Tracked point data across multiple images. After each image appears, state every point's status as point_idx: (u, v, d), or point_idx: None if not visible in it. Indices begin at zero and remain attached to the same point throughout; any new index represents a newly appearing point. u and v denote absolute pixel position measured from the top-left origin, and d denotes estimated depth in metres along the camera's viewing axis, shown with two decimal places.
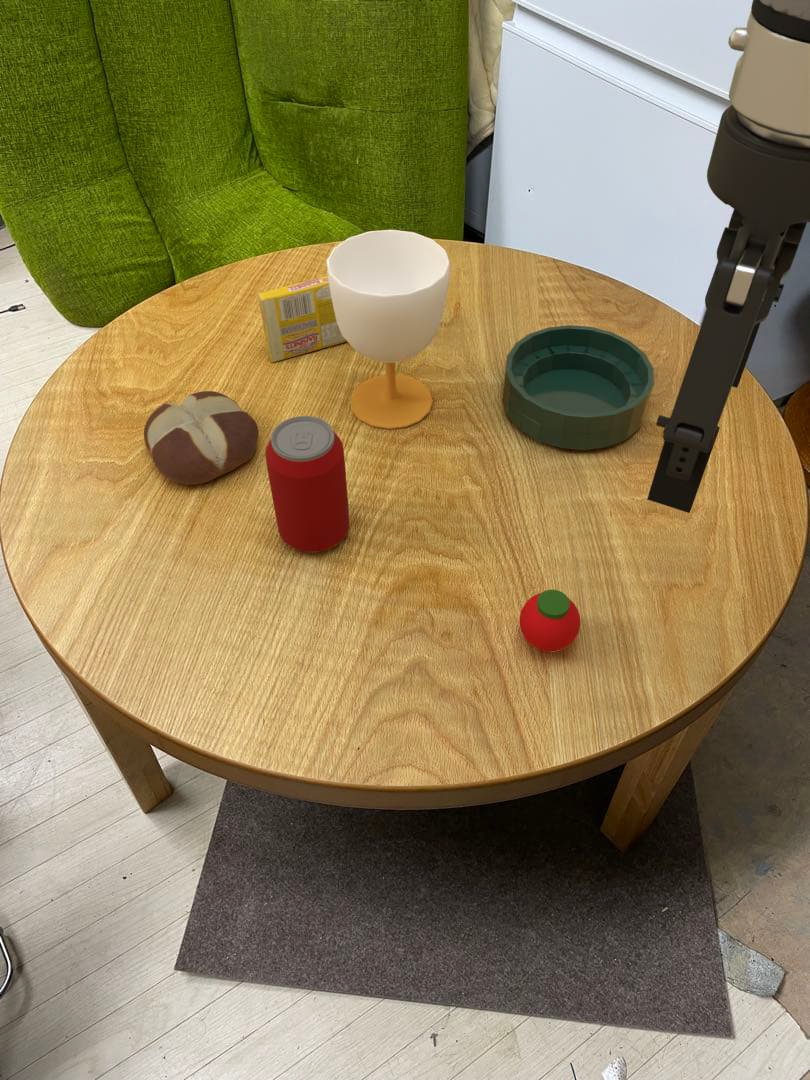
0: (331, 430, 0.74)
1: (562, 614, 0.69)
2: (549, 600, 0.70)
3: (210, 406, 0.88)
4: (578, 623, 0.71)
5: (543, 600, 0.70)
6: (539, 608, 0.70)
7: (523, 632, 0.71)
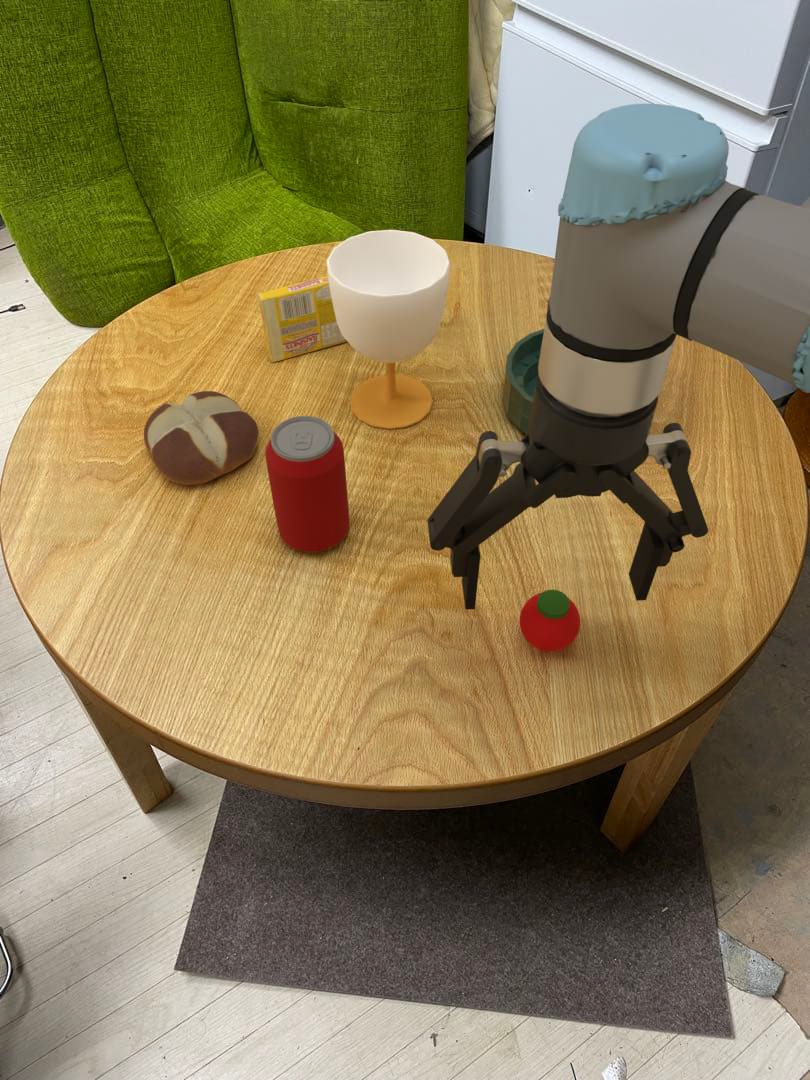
0: (331, 430, 0.74)
1: (562, 614, 0.69)
2: (549, 600, 0.70)
3: (210, 406, 0.88)
4: (578, 623, 0.71)
5: (543, 600, 0.70)
6: (539, 608, 0.70)
7: (523, 632, 0.71)
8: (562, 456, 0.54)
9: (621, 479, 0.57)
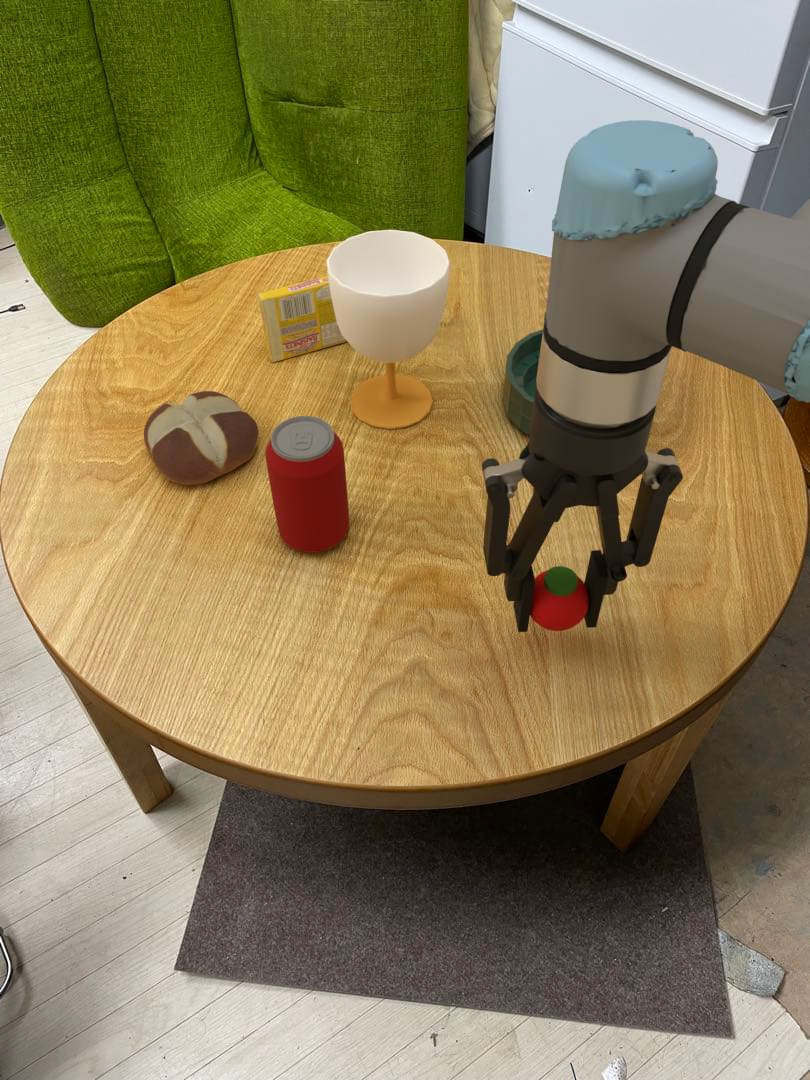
0: (331, 430, 0.74)
1: (570, 591, 0.67)
2: (556, 577, 0.68)
3: (210, 406, 0.88)
4: (587, 601, 0.68)
5: (550, 577, 0.68)
6: (546, 584, 0.67)
7: None
8: (561, 467, 0.54)
9: (615, 493, 0.58)
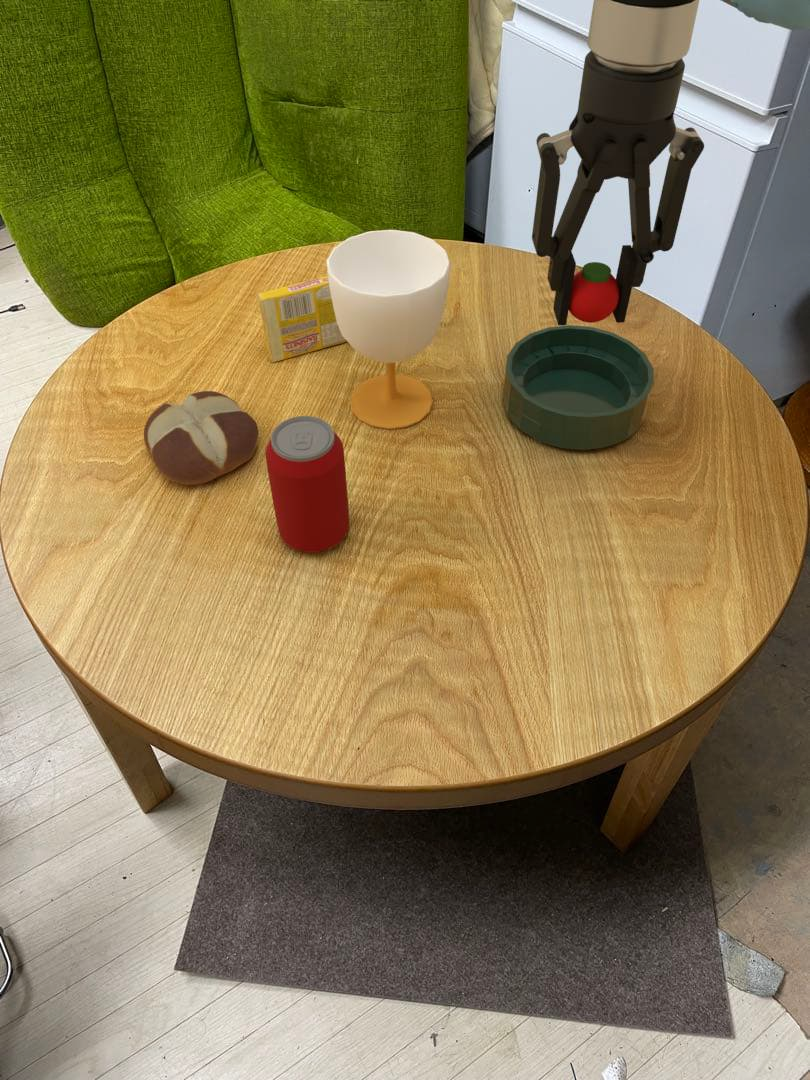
0: (331, 430, 0.74)
1: (604, 277, 0.79)
2: (593, 268, 0.79)
3: (210, 406, 0.88)
4: (618, 291, 0.80)
5: (587, 268, 0.80)
6: (584, 274, 0.79)
7: None
8: (607, 118, 0.66)
9: (648, 159, 0.70)
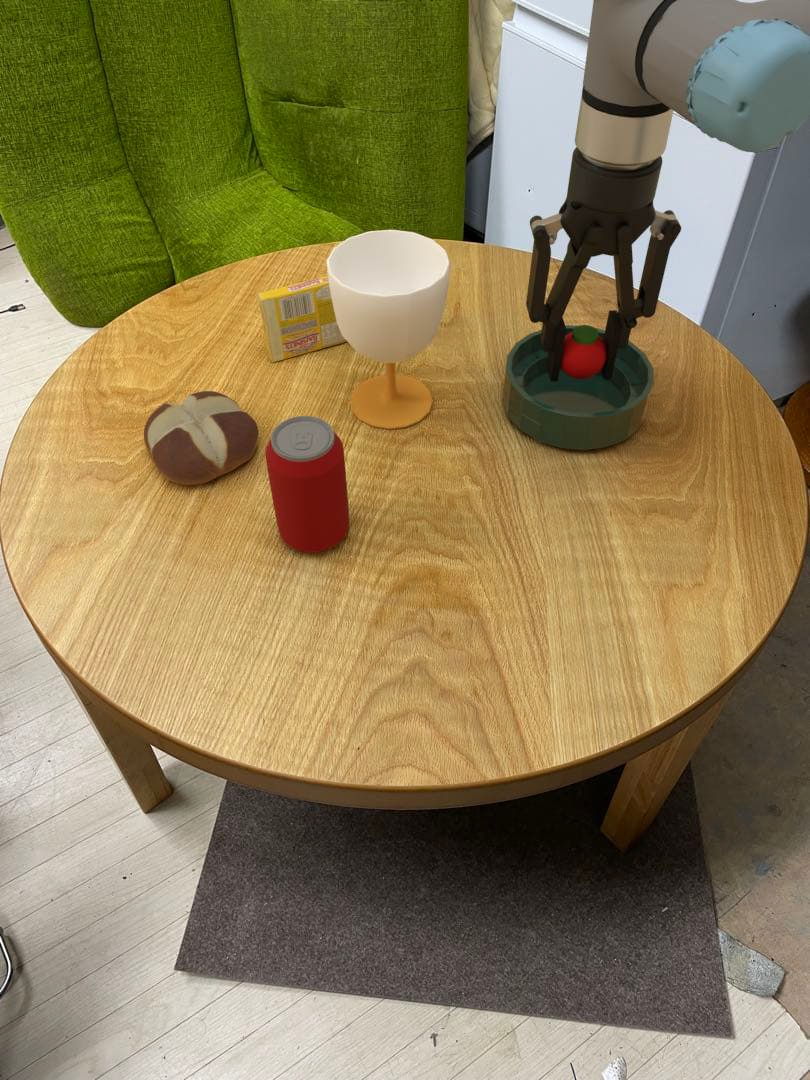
0: (331, 430, 0.74)
1: (592, 340, 0.86)
2: (582, 331, 0.87)
3: (210, 406, 0.88)
4: (605, 352, 0.88)
5: (577, 331, 0.87)
6: (574, 336, 0.87)
7: None
8: (592, 207, 0.74)
9: (630, 240, 0.77)
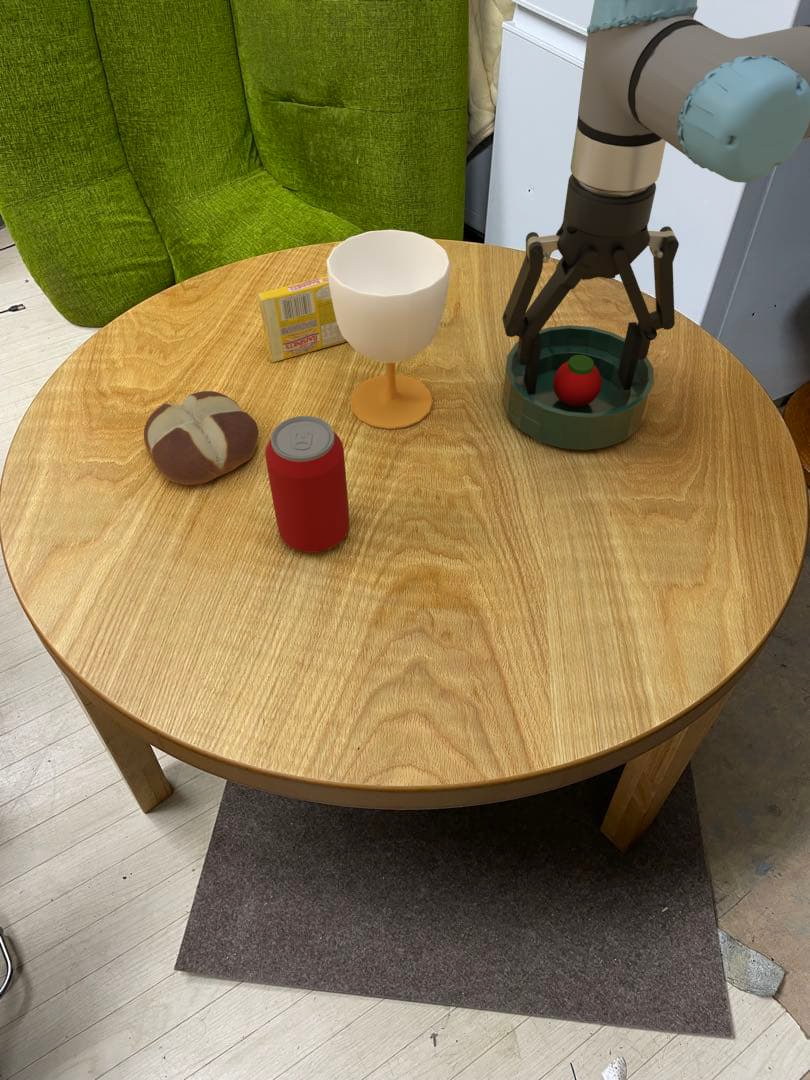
0: (331, 430, 0.74)
1: (588, 370, 0.89)
2: (578, 361, 0.90)
3: (210, 406, 0.88)
4: (600, 381, 0.90)
5: (573, 361, 0.90)
6: (570, 366, 0.89)
7: (556, 389, 0.91)
8: (588, 232, 0.75)
9: (628, 261, 0.79)
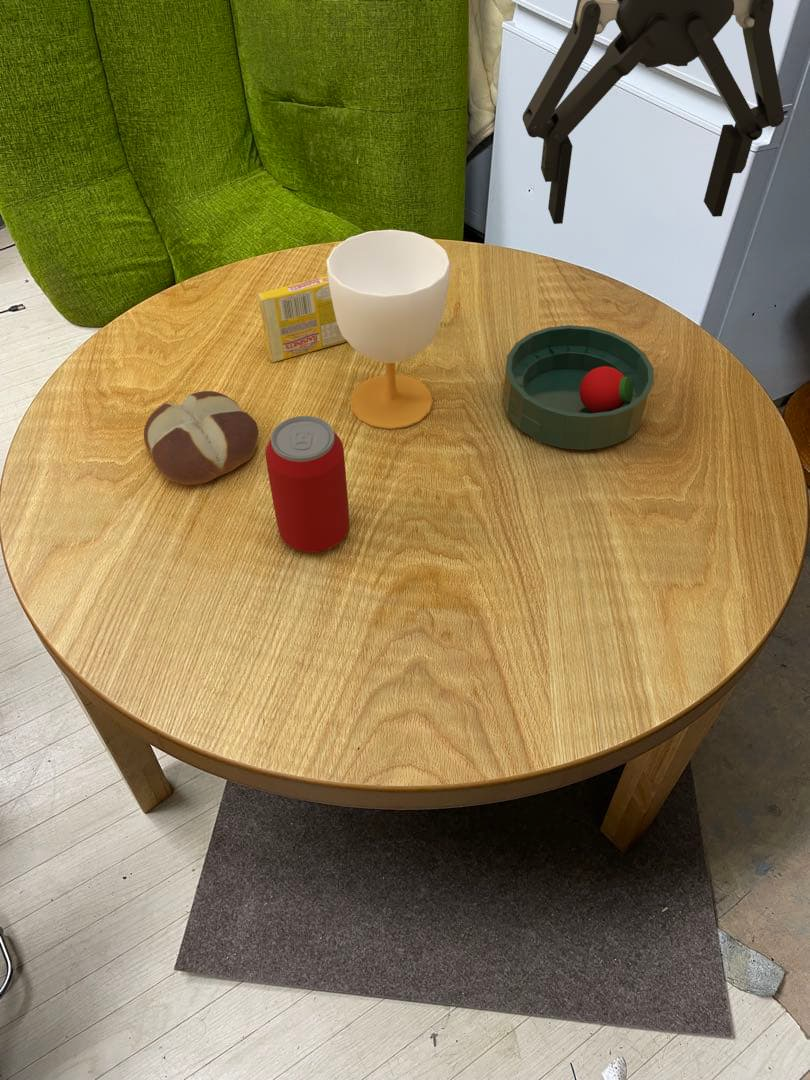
0: (331, 430, 0.74)
1: None
2: (628, 386, 0.89)
3: (210, 406, 0.88)
4: None
5: (626, 384, 0.89)
6: (623, 387, 0.88)
7: (593, 388, 0.89)
8: None
9: (709, 34, 0.62)
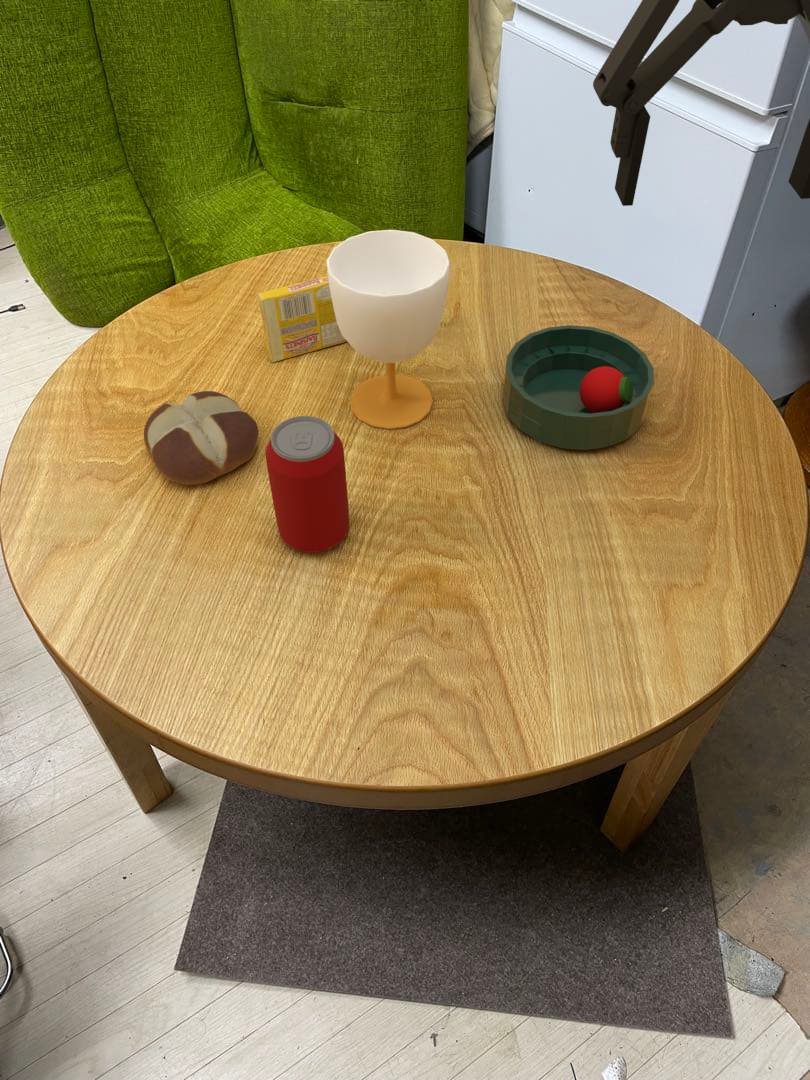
0: (331, 430, 0.74)
1: None
2: (628, 386, 0.89)
3: (210, 406, 0.88)
4: None
5: (626, 384, 0.89)
6: (623, 387, 0.88)
7: (593, 388, 0.89)
8: None
9: None
